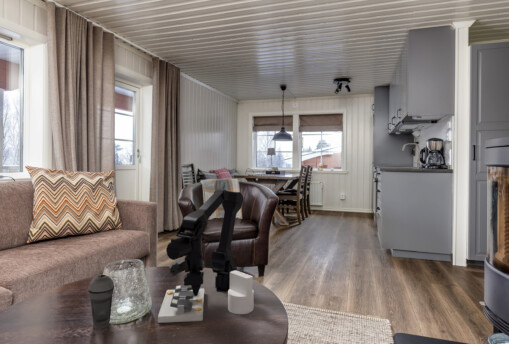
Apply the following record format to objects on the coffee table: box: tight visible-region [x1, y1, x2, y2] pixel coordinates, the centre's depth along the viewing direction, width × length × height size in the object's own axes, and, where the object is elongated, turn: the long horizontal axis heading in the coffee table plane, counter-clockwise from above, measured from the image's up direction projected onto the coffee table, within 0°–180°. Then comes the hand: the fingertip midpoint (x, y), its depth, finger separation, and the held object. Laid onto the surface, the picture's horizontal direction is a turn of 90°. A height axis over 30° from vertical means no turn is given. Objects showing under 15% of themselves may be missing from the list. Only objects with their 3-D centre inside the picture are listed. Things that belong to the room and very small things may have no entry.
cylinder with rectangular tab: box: [227, 270, 255, 315], centre depth 111 cm, size 9×9×12 cm
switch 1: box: [174, 283, 192, 292], centre depth 119 cm, size 7×4×1 cm, turn 97°
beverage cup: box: [88, 260, 115, 330], centre depth 98 cm, size 7×7×20 cm
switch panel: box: [157, 282, 205, 324], centre depth 112 cm, size 14×21×5 cm, turn 8°
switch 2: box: [172, 291, 194, 299], centre depth 112 cm, size 7×4×1 cm, turn 98°
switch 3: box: [170, 298, 193, 311], centre depth 105 cm, size 7×4×1 cm, turn 98°
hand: (195, 295), depth 112 cm, fingers closed, pressing on switch 2
